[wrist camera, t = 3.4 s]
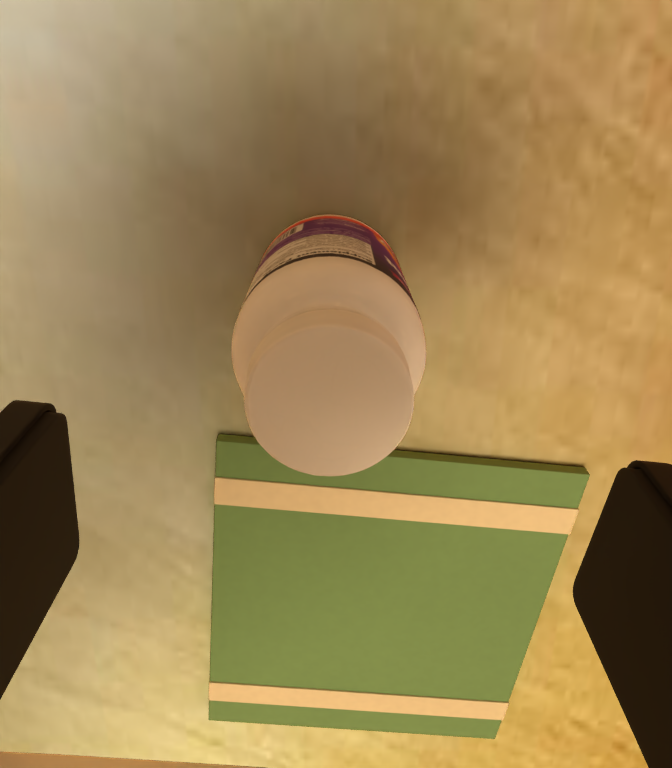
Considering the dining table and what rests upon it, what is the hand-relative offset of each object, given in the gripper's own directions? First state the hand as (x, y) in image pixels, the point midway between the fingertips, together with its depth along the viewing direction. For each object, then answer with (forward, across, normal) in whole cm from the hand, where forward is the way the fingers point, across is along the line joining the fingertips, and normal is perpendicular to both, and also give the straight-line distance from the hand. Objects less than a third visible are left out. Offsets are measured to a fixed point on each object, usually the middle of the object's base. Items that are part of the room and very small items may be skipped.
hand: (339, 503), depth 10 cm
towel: (+13, -4, +16) cm, 22 cm away
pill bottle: (+14, 0, 0) cm, 14 cm away
